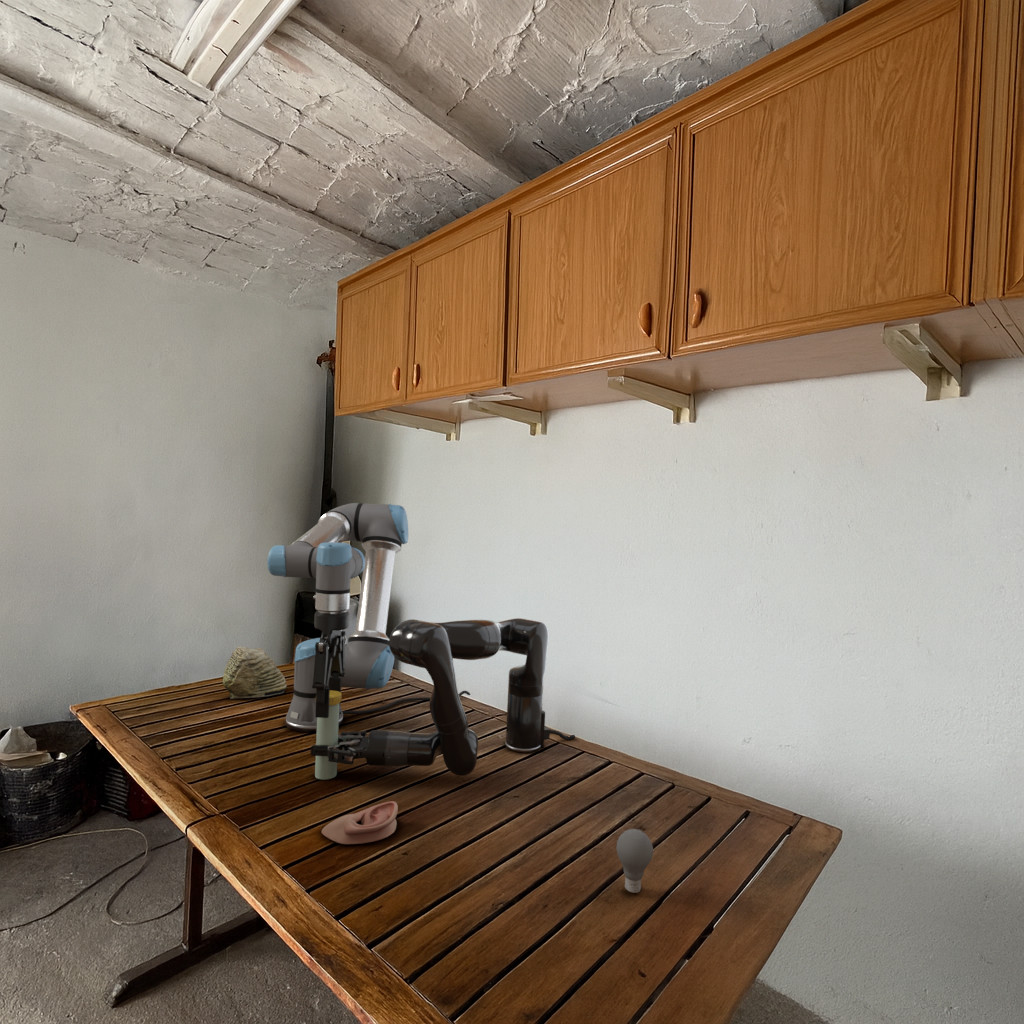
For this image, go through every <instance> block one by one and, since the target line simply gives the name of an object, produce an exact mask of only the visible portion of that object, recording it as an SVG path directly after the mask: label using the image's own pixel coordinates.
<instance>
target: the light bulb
mask: <svg viewBox="0 0 1024 1024" xmlns="http://www.w3.org/2000/svg"><path fill="white" fill-rule="evenodd" d="M615 849H616V854H617V857H618V859H619V861H620V863H621V865H622V867H623V873H624V874H623V875H624V876H625V878H624V888H625V890H627V891H628V892H630V893H634V894H635V893H639V892H640V891H641V889H642V887H641V886H642V879H643V877H644V875H645V871H646V868H647V867H648V866H649V864H650V863H651V861H652V859H653V855H654V847H653V843H652V841H651V838H649V836H648V835H647V834H646V833H645V832H643V831H642V830H641V829H636V828H629V829H627V830H625V831H623V832H622V833H621V834H620V835H619V837H618V839H617V841H616V847H615Z"/></svg>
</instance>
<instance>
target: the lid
mask: <svg viewBox="0 0 1024 1024" xmlns="http://www.w3.org/2000/svg"><path fill="white" fill-rule="evenodd" d="M342 698H343V695H342V691H341V692H339V691H333V690H330V695H329V706H330V705H336V704H339V703H340V704H341V703H342V700H343V699H342Z"/></svg>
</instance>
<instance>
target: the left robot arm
mask: <svg viewBox="0 0 1024 1024" xmlns="http://www.w3.org/2000/svg"><path fill="white" fill-rule="evenodd" d="M348 542H358V543H359V542H360V543H361V547H362V549H363V550H364V551H365V555H364V553H363V552H362V551H361V550H360V549H358V548H356V547H352V545H351V544H350V543H348ZM408 542H409V521H408V514H407V511H406V509H405V507H404V506H402V505H400V504H392V503H387V504H386V503H361V502H351V503H346V504H343V505H340V506H337V507H335V508H333V509H330V510H329V511H327V512H325V513H324V514H323V515H322V516H320V518H319V519H318V521H317V523H316V524H315V525H314V526H313V527H312V528H310V529H309V530H308V531H306V532H305V533H304V534H303V535H301V536H300V537H299V538H297V539H295V541H293V542H292V543H291V544H289V545H285V544H282V545H280V544H279V545H273V546H272V547H271V548H270V549H269V551H268V555H267V559H266V561H267V563H266V564H267V569H268V572H269V573H270V575H271V576H274V577H283V578H305V579H315V594H314V596H313V600H315V602H314V607H315V610H316V611H315V612H314V620H313V621H314V629H316V630H318V631H319V630H320V631H321V636H320V637H315V638H311V639H307V640H304V641H302V642H300V643H298V644H297V645H296V648H295V655H294V659H293V662H294V672H293V695H292V696H293V697H292V699H291V702H290V704H289V708H288V711H287V713H286V715H285V726H286V728H287V729H289V730H291V731H294V732H295V731H296V732H301V733H317V717H318V718H328V717H329V695H330V690H333V691H339V692H341V693H342V688H349V689H366V690H370V689H373V690H374V689H376V690H377V689H379V690H380V689H382V688H384V687H385V686H386V685H387V684H388V683H389V681H390V678H391V675H392V672H393V668H394V664H395V657H394V656H393V654H392V653H391V650H390V647H389V639H390V637H388V635H387V634H386V633H387V626H388V618H389V608H390V601H391V593H392V584H393V577H394V568H395V560H396V555H397V554H398V553H400V552H401V550H402V545H405V544H407V543H408ZM361 573H362V578H361V585H360V592H359V600H358V607H357V612H356V613H357V615H356V621H355V628H354V632H352V633H351V634H350V635H349V636H348V638H347V643H346V631H345V630H346V629H348V628H349V624H350V612H349V611H348V610H350V606H351V580H353V579H355V578H357V577H358V576H359V575H360V574H361ZM458 694H459V697H461V696H463V695H464V694H466V695H467V696H470V695H471V692H469V691H468V690H462V691H460V692H458ZM430 698H431V696H421V697H420V696H419V697H407V698H402V699H396V700H394V701H392V702H390V703H388V704H385V705H383V706H380V707H374V708H369V709H362V710H343V709H342V706H341V702H340V703H339V726H340V725H342V723H343V722H344V715H362V714H369V713H374V712H378V711H383V710H385V709H388V708H390V707H392V706H394V705H397V704H400V703H404V702H413V701H414V702H415V701H430Z"/></svg>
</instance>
